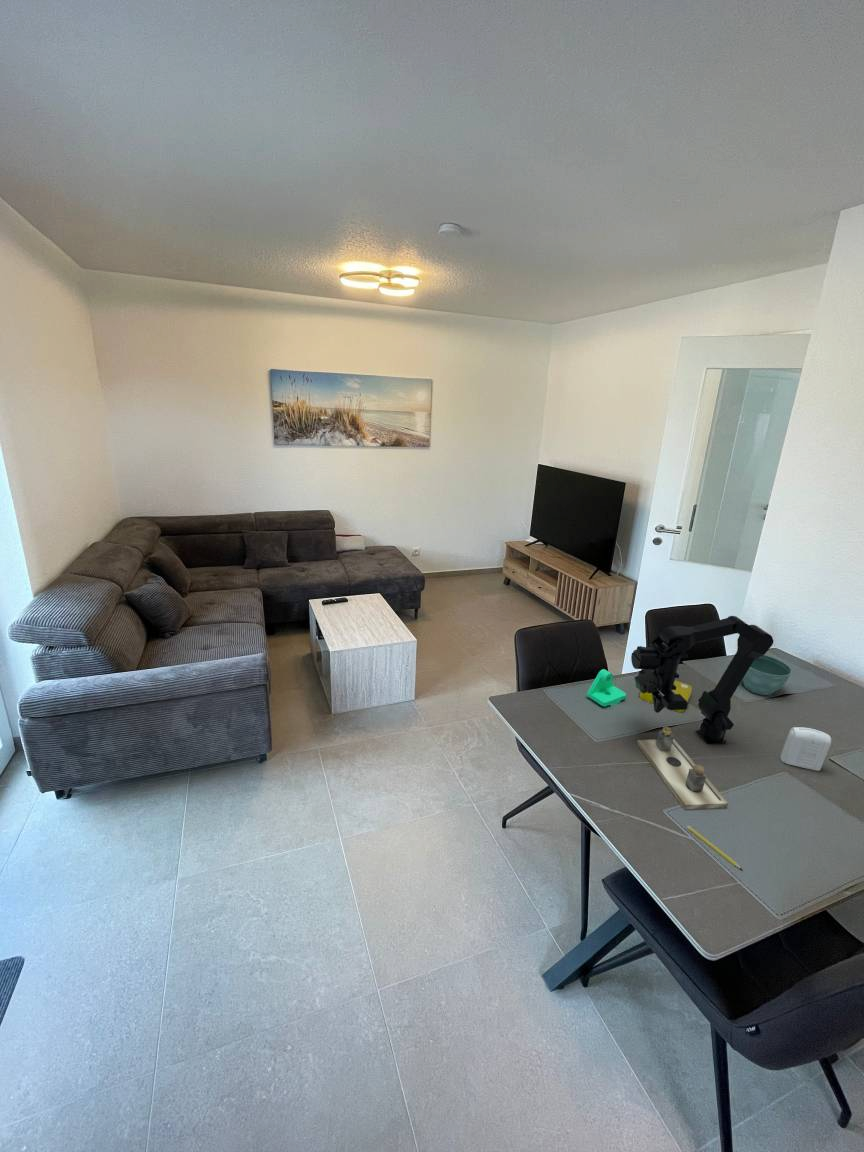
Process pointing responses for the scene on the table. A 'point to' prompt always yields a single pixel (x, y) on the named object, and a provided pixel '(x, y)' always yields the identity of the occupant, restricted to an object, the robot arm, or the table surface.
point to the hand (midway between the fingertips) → (656, 711)
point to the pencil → (713, 847)
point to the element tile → (680, 689)
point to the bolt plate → (682, 776)
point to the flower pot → (766, 675)
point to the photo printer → (806, 748)
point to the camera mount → (605, 690)
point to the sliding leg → (665, 739)
